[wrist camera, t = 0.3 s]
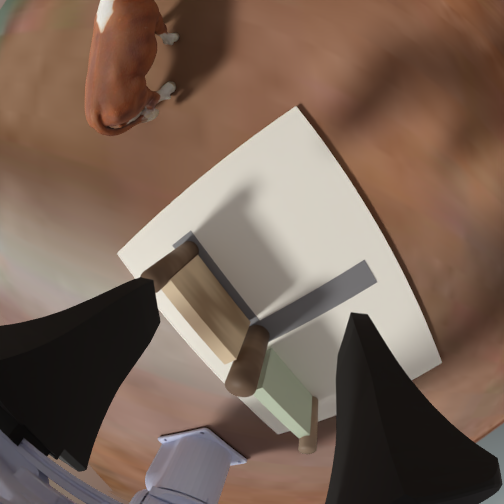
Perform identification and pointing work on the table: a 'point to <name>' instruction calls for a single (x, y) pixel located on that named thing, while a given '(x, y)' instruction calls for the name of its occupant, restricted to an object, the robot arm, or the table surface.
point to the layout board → (289, 259)
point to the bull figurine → (124, 65)
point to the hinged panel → (288, 401)
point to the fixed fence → (212, 315)
